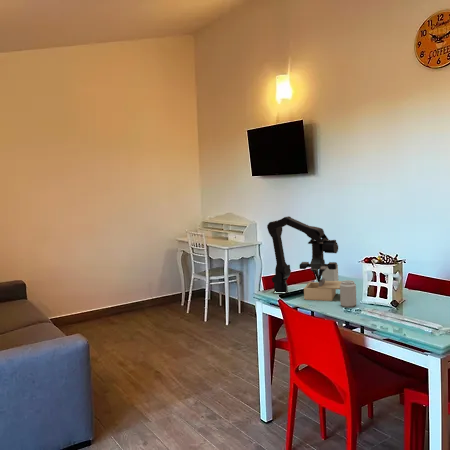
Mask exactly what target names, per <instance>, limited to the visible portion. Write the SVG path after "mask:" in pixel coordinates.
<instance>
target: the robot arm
mask: <svg viewBox="0 0 450 450" xmlns="http://www.w3.org/2000/svg"><path fill="white" fill-rule="evenodd" d="M285 226H288V227H291V228H293V229H295V230H297V231H300V232H302V233H304V234H305V235H306V236H307V237H308V238H309V239H310V240H309V241H308V242H307V245H311V261H310V263H309V261H302V262H301V263H299V270H306V269H307V268H310V271H311V272H312V273H314V275H315V278H316V282H319V281H320V280H321V279H322V273H323V271H325V270H326V268H329V269H331V270H335V269H336V268H337V264H338V263H337V262H335V261H332V262H331V261H329V262H328V263H326V262H325V259H324V258H325V257H324V253H326V254H337V253H338V252H339V244H338V242H337V240H336V239H329V238H328V237H327V235H326V234H325V231H324V229H323V228H321V227H318V226H313V225H308V224H306V223H303V222H301V221H299V220H297V219H294V218H293V217H291V216H283V218H281V219H278V220H272V221H270V222H269V223H268V224H267V225H266V229H267V231H268V234H269V236H270V237H271V239H272V244H273V251H274V255H275V261H276V262H275V263H276V264H275V265H276V266H275V269H274V270H275V271H274V273H275V274H274V275H273V277H272V278H271V282H272V283H273V292H274V291H276V292H286V293H287V292H288V290H289V289H288V283H287V281H288V279H289V277H290V276H291V273H292V270H291V265H290V264H287V262H286V259H285V253H284V248H283V247H284V246H283V240H282V233H283V227H285Z"/></svg>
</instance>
